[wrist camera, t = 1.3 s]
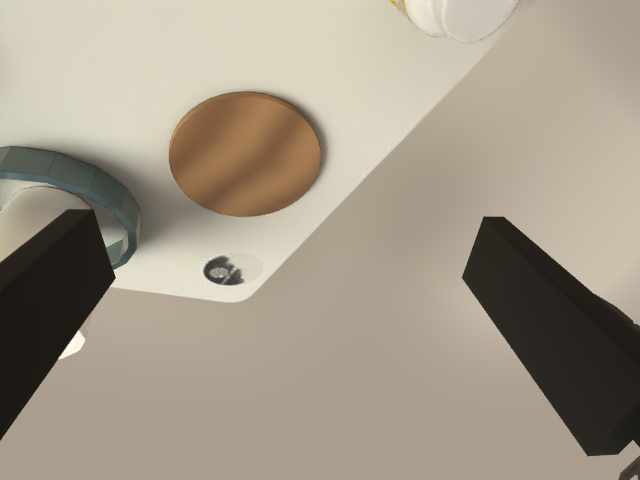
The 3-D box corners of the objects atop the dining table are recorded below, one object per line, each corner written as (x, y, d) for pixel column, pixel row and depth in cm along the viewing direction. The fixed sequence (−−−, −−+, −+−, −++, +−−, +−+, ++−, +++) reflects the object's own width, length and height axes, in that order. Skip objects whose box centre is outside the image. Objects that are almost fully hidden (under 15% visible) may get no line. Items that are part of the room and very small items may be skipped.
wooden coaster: (143, 178, 31) (142, 184, 31) (221, 54, 24) (221, 59, 24) (265, 226, 40) (265, 231, 40) (347, 145, 33) (349, 150, 33)
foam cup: (119, 241, 37) (97, 357, 29) (16, 243, 34) (-39, 371, 26) (97, 175, 30) (60, 304, 22) (-36, 170, 27) (-131, 316, 19)
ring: (-64, 230, 31) (-81, 256, 29) (-43, 113, 24) (-63, 138, 22) (111, 268, 40) (107, 290, 38) (164, 192, 33) (162, 214, 31)
